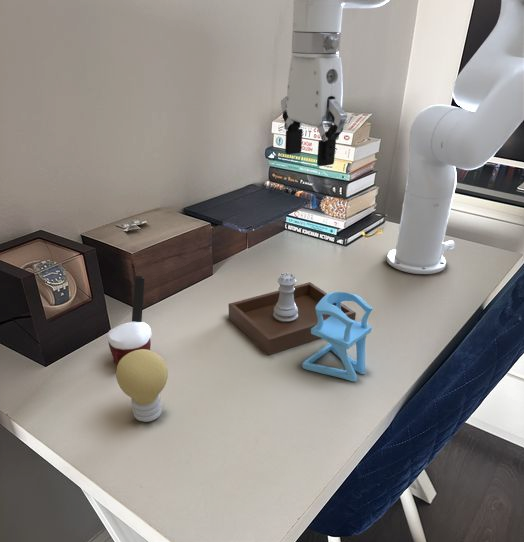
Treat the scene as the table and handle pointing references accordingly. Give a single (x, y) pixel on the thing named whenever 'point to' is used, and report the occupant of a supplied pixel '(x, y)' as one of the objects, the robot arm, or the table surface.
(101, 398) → the table surface
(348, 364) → the chair
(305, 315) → the tray
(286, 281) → the rook chess piece
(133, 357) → the light bulb
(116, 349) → the cocoa
